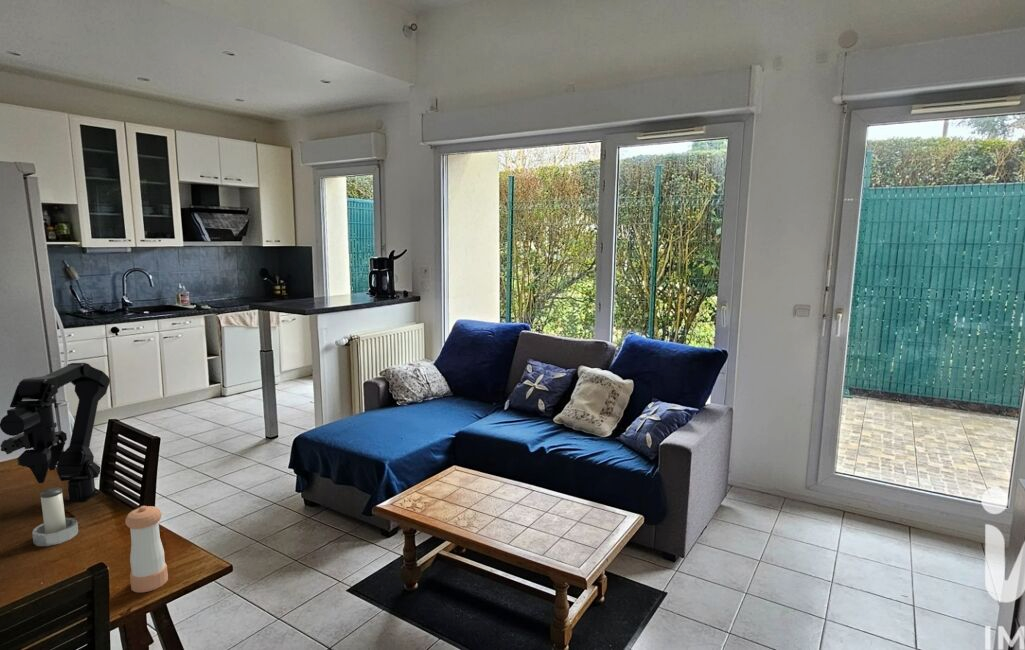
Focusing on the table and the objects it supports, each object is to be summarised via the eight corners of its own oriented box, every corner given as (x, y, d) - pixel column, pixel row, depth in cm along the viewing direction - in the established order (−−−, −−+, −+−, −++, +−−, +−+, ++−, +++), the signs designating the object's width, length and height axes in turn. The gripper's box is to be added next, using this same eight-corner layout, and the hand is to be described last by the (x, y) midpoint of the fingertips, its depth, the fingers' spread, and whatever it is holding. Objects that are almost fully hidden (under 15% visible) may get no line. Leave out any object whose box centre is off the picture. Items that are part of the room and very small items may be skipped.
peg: (58, 531, 153) (53, 486, 151) (71, 533, 152) (65, 488, 150) (41, 539, 148) (35, 493, 146) (54, 542, 147) (48, 495, 145)
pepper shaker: (161, 570, 136) (154, 496, 133) (173, 581, 132) (166, 505, 129) (126, 583, 130) (118, 507, 127) (137, 596, 126) (129, 517, 123)
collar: (53, 527, 154) (52, 517, 154) (86, 528, 154) (85, 518, 154) (24, 545, 145) (23, 535, 145) (59, 546, 145) (58, 535, 145)
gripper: (16, 416, 159) (22, 468, 162) (-12, 438, 143) (-4, 495, 145) (64, 411, 164) (70, 462, 166) (43, 432, 147) (49, 488, 150)
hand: (46, 476), depth 157 cm, fingers open, 9 cm apart
